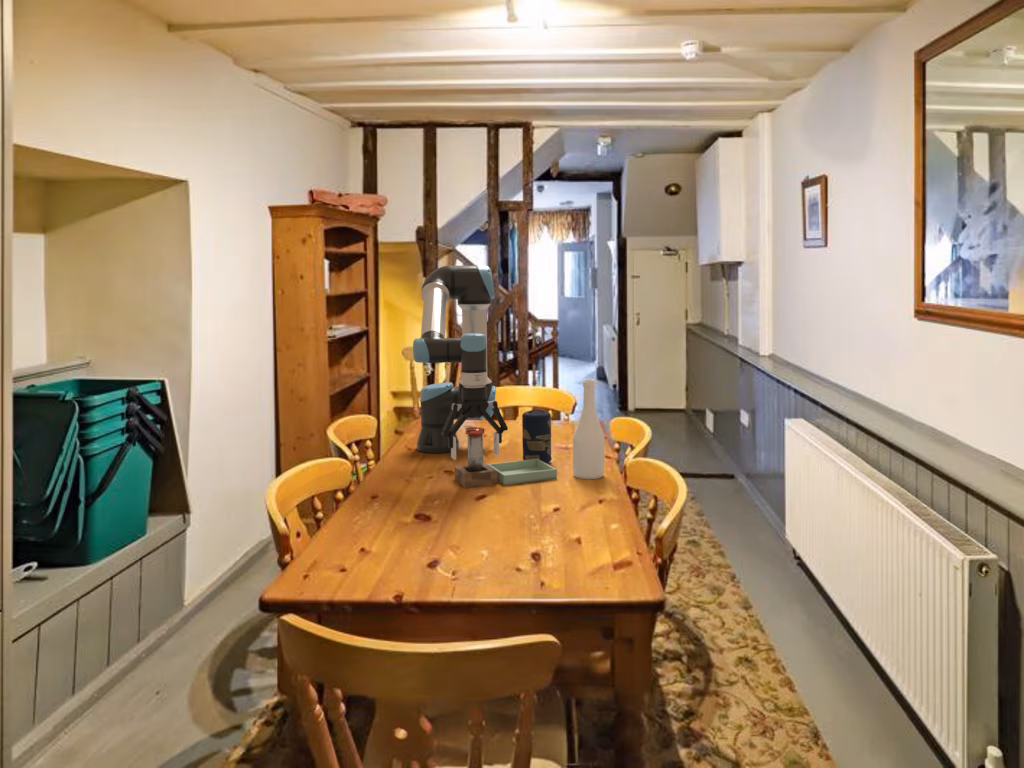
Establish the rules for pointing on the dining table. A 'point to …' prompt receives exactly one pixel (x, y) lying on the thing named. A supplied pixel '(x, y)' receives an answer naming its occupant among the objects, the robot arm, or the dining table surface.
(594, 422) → the wine bottle
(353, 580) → the dining table surface
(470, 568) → the dining table surface
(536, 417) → the canister
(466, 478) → the socket block
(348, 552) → the dining table surface
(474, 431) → the pin
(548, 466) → the tray
